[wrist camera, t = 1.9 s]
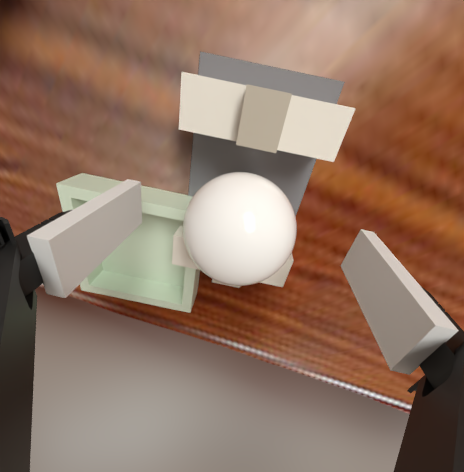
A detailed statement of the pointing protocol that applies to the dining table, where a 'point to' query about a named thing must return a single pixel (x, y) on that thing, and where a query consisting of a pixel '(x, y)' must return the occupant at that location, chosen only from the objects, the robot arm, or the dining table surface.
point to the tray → (139, 248)
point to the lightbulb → (239, 228)
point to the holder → (258, 129)
